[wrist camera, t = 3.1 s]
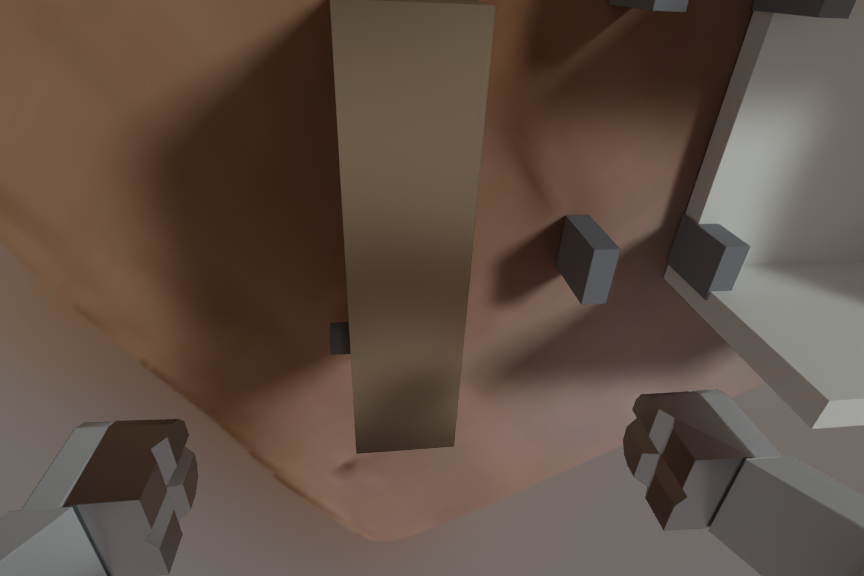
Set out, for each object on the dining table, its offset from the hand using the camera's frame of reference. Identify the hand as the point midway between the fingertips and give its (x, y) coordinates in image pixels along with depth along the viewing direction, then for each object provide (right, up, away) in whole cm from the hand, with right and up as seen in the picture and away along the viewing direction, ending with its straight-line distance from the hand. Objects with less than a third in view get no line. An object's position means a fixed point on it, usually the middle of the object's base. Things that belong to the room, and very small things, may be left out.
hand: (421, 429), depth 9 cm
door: (-1, +7, +10) cm, 12 cm away
